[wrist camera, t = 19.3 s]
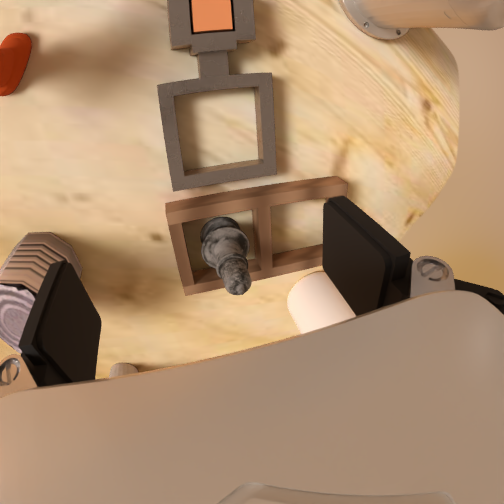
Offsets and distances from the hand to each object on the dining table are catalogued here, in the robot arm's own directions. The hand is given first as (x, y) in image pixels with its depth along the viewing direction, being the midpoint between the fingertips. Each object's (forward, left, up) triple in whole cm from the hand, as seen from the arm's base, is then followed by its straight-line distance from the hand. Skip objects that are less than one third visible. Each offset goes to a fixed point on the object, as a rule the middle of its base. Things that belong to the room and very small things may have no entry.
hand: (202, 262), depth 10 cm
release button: (-5, -13, -25) cm, 29 cm away
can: (+21, +13, -26) cm, 36 cm away
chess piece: (-4, +14, -26) cm, 29 cm away
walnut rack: (-9, +14, -25) cm, 30 cm away
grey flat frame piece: (-5, -6, -25) cm, 26 cm away
